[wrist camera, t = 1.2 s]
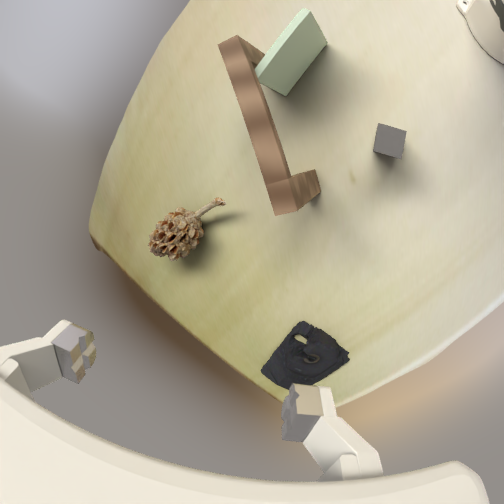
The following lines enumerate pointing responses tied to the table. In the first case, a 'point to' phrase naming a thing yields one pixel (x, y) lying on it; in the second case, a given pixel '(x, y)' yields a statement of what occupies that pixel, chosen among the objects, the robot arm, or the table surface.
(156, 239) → the dried seed pod
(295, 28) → the door
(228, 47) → the door frame
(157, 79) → the table surface
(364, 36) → the table surface
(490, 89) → the table surface
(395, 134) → the gray rectangular block
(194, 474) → the robot arm
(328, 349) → the dark slate chunk
